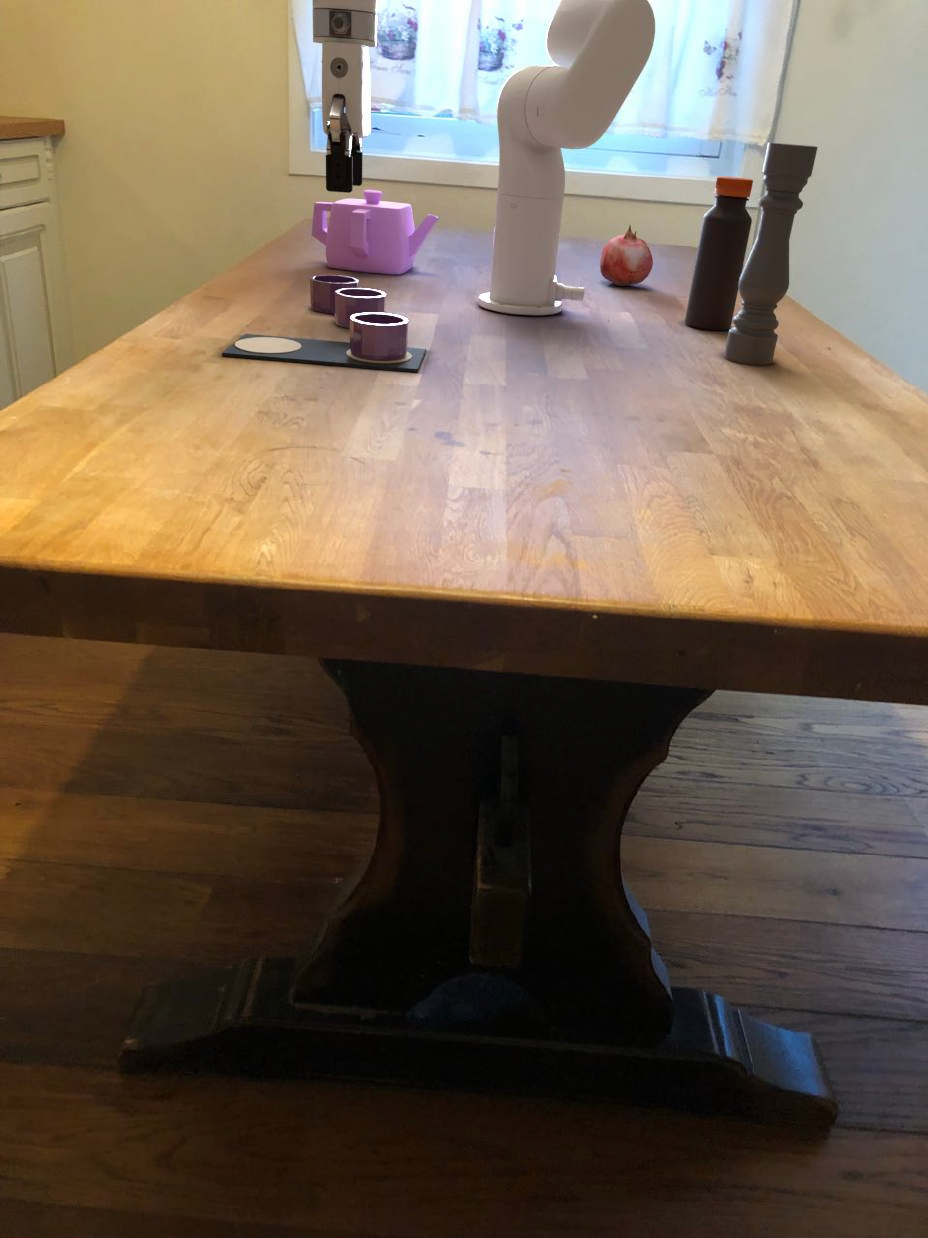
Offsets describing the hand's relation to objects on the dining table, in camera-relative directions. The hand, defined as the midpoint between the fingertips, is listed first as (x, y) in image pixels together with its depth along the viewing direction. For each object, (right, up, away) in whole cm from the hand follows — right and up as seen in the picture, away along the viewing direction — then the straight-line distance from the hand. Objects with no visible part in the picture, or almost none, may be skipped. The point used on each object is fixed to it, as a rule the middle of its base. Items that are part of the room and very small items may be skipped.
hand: (344, 188), depth 121 cm
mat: (-1, -24, -10) cm, 26 cm away
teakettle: (-1, +7, +47) cm, 47 cm away
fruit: (+43, +5, +49) cm, 65 cm away
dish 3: (+5, -24, -11) cm, 27 cm away
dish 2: (+1, -16, +5) cm, 17 cm away
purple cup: (-3, -11, +13) cm, 17 cm away
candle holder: (+52, -21, +3) cm, 56 cm away
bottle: (+51, -11, +20) cm, 56 cm away
